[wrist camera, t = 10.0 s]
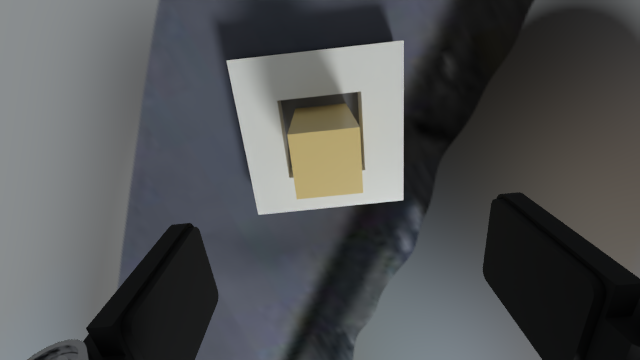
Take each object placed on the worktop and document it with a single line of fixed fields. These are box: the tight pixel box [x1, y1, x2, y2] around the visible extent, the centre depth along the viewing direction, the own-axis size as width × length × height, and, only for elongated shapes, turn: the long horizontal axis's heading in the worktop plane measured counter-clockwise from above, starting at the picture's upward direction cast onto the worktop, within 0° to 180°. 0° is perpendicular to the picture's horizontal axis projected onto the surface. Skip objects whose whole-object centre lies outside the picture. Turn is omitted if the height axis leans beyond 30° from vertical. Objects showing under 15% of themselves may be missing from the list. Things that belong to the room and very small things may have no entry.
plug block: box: [287, 103, 363, 199], centre depth 21 cm, size 4×4×8 cm
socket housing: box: [227, 40, 404, 215], centre depth 24 cm, size 12×12×2 cm
